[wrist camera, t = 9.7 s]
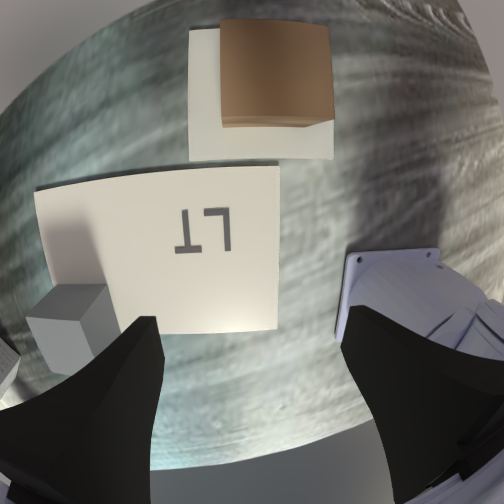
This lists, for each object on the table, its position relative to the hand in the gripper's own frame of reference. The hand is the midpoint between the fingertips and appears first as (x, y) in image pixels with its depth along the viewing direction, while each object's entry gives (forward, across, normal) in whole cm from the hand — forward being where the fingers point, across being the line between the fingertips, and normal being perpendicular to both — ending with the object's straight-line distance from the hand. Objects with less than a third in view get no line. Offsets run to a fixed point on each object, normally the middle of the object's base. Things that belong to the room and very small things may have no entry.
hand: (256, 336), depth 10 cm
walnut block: (+9, -1, -10) cm, 14 cm away
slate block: (+9, +12, +5) cm, 16 cm away
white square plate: (+9, -1, -10) cm, 14 cm away
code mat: (+10, +6, +1) cm, 11 cm away
